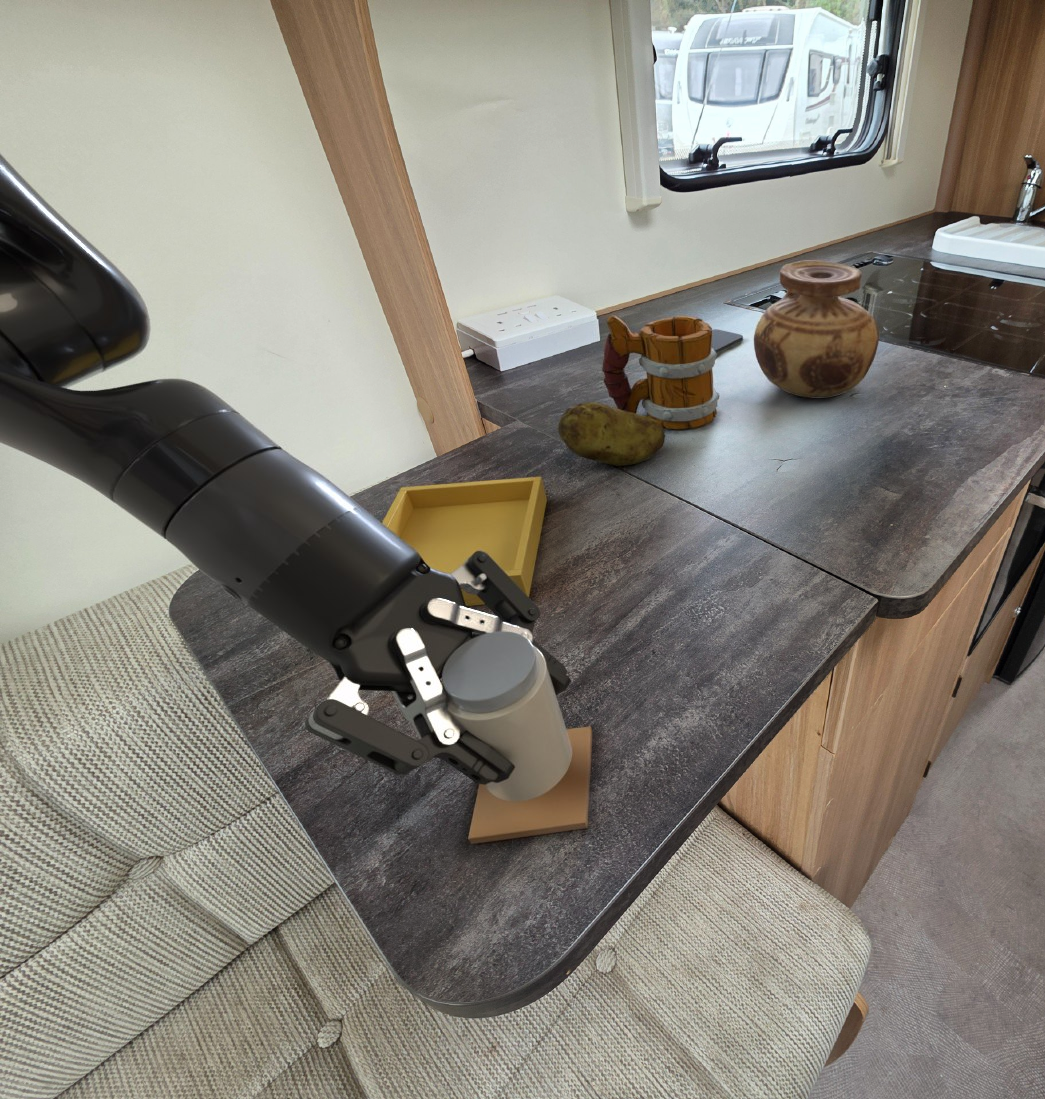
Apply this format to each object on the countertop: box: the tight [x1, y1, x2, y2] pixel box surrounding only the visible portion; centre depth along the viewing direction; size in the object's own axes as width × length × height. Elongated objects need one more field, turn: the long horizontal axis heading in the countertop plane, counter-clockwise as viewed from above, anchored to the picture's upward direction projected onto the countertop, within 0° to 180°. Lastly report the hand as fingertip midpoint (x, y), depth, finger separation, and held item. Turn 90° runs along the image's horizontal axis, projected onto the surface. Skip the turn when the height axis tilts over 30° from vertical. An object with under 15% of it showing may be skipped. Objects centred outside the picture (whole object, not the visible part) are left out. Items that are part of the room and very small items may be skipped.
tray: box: [381, 476, 548, 607], centre depth 63 cm, size 18×16×3 cm
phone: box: [712, 328, 744, 354], centre depth 110 cm, size 7×1×15 cm
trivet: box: [467, 726, 593, 845], centre depth 42 cm, size 8×8×1 cm
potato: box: [557, 402, 666, 467], centre depth 76 cm, size 8×13×8 cm, turn 92°
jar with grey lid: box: [441, 631, 572, 802], centre depth 38 cm, size 6×6×10 cm
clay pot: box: [753, 259, 880, 399], centre depth 91 cm, size 19×19×20 cm
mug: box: [601, 314, 720, 431], centre depth 84 cm, size 11×16×15 cm, turn 102°
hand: (535, 728), depth 38 cm, fingers closed on jar with grey lid, 6 cm apart
